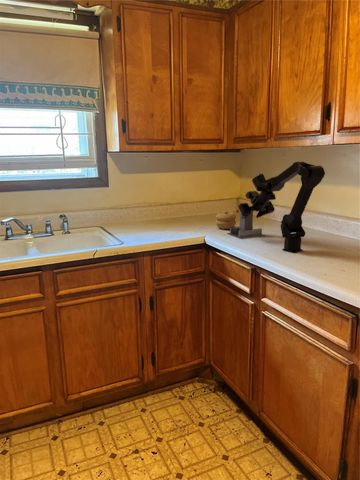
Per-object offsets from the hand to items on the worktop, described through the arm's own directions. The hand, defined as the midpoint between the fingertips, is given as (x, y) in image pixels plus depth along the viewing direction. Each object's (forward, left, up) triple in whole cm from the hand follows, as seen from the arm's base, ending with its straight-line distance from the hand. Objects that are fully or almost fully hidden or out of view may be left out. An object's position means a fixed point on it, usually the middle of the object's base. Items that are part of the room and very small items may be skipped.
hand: (249, 218), depth 193 cm
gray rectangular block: (+3, 0, -9) cm, 9 cm away
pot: (+22, -3, -10) cm, 24 cm away
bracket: (+3, 0, -9) cm, 10 cm away
